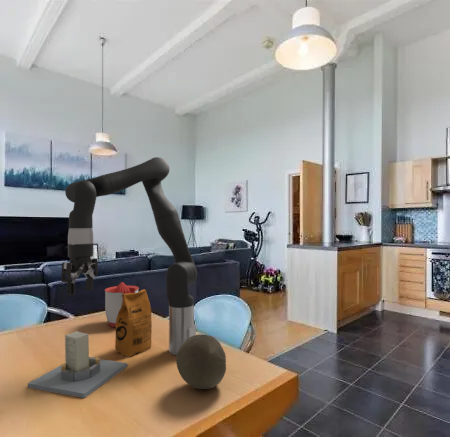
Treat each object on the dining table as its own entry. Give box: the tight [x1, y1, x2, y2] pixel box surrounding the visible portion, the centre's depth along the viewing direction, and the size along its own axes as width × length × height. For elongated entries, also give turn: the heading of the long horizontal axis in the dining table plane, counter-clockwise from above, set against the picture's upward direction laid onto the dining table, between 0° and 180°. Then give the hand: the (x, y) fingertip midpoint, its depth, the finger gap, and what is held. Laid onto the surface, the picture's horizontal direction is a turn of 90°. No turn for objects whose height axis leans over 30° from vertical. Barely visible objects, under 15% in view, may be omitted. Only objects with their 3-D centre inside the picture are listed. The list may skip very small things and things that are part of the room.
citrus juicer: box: [104, 281, 140, 328], centre depth 150 cm, size 16×17×20 cm
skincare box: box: [64, 330, 90, 371], centre depth 98 cm, size 6×4×12 cm
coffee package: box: [114, 289, 153, 357], centre depth 120 cm, size 10×12×22 cm
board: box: [27, 358, 128, 399], centre depth 99 cm, size 20×20×1 cm
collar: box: [60, 356, 101, 382], centre depth 99 cm, size 11×11×3 cm
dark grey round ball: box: [175, 334, 227, 390], centre depth 92 cm, size 14×14×15 cm
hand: (80, 292), depth 102 cm, fingers open, 8 cm apart
